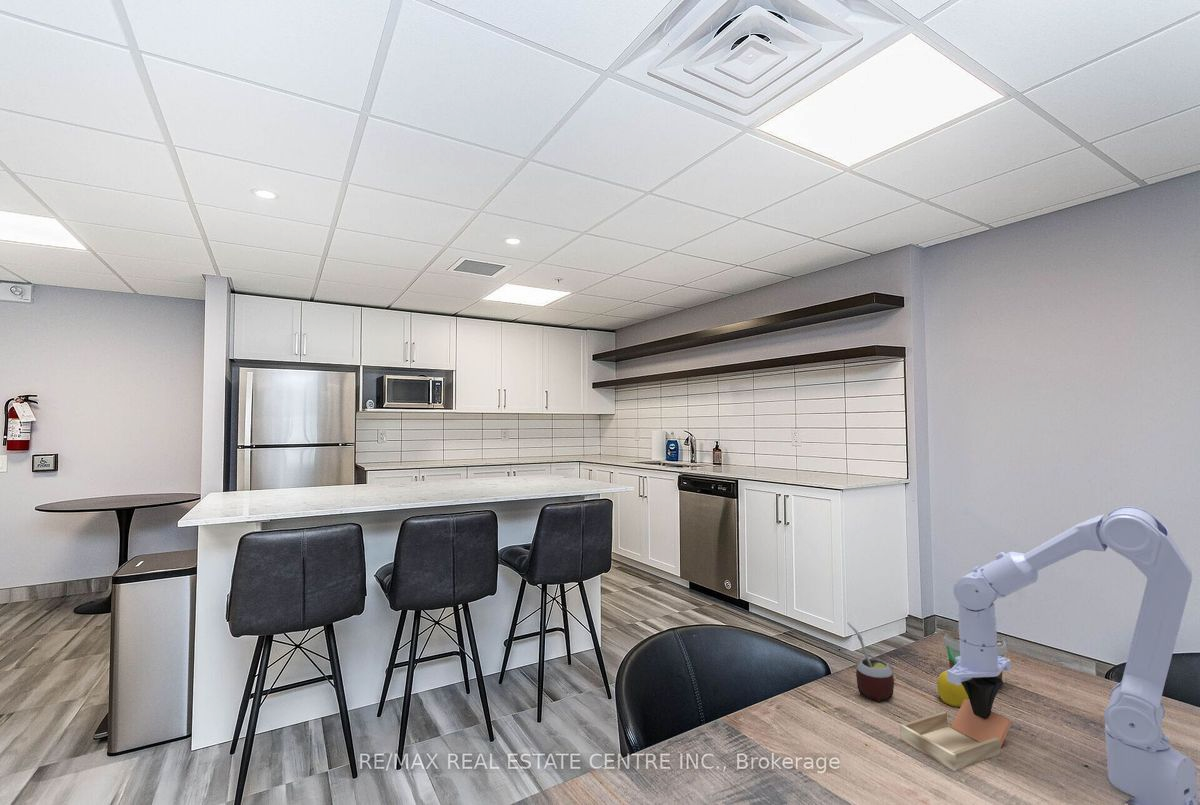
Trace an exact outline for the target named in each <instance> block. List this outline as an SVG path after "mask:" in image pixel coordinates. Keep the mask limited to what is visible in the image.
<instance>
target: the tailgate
mask: <svg viewBox="0 0 1200 805" xmlns="http://www.w3.org/2000/svg"><path fill="white" fill-rule="evenodd" d="M1012 724H1013V721H1012V720H1011V719H1009V718H1007V717H1004V716H1003V715H1000V714H998V713H996V712H994V711H992V710H991V713H990V716H989V717H988V718H987V719H982V718H980V717H978V716H976V715H974V713H973V710H972V706H971V703H970V700H969V701H968V700H966V699H964V701H963V703H962V705H961V707H959V710H958V711H957V713H956V715H955V718H954V719H953V721H952V723H951V725H950V728H952V729H954V730H955V731H957V732H959V733H961V734H963V735H965V736H967V737H969V738H971V739H973V740H975V741H977V742H978V743H980V742H983V741H986V740H989V739H991V738H994V737H996V738H998V739H999V745H1000V749H1001V748H1002V746H1003V744H1004V741H1005V739H1006V737H1007V735H1008V733H1009V731H1010V728H1011V726H1012Z"/></svg>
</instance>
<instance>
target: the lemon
mask: <svg viewBox="0 0 1200 805" xmlns="http://www.w3.org/2000/svg"><path fill="white" fill-rule="evenodd" d="M947 670H948V669H947ZM947 670H944V671H942V672H941V673H940V674H939V676H938V679H937V687H936V688H937V692H938V695H939V697H940V699H941V701H943V703H945V704H947V705H948V706H951V707H955V708H960V707H961V705H962V703H963V701H964V699H966V700H968V701H970V700H969V697H968V695H967V693H966V691H965V689H964V687H963V685H962V683H961V685H958V686H957V685H955V684H953V683H951V682H948V681H947Z"/></svg>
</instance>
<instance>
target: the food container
mask: <svg viewBox="0 0 1200 805" xmlns="http://www.w3.org/2000/svg"><path fill="white" fill-rule="evenodd" d="M942 643H943V645H945V646H946V651H947V657H948V663H949V669H951V668H953V667H954V666H955V665H956V664H957V663H958V662H956V661H955V658H956V657H958V656H960V638H958V637H957V638H955V637H951V636H949V635H948V634H947V633H944V635H943V638H942ZM997 651H998V656H1001V657H1004V655H1005V654H1007V653H1008V648H1007V644H1006V642H1005V639H1004V638H1003V637H1001V640H997ZM1003 671H1004V670H1002V672H1001V673H1000V674H999V675H998V676H995V677H998V678H1000V679H1001V680H1002V681H1003Z"/></svg>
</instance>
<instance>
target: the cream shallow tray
mask: <svg viewBox="0 0 1200 805" xmlns="http://www.w3.org/2000/svg"><path fill="white" fill-rule="evenodd" d="M899 735H900V736H899V737H900V741H902V742H904V743H906V744H907V745H909V746H911V747H913V748H914V749H916V750H918V751H919V752H921V753H923V754H924V755H926V756H927V757H929V758H931V759H932V760H934V761H935V762H938V763H940V765H943V766H945V767H946V768H947V769H949V770H951V771H953V772H956V771H959V770H961V769H964V768H967V767H969V766H973V765H975V764H978V763H980V762H983V761H985V760H988V759H991V758H993V757H996V756H998V755H1000V754H1001V751H1000V750H1001V748H1000V745H999V739H998V738H996V737H994V738H991V739H989V740H986V741H983V742H978V741H976V740H974V739H972V738H971V737H969V736H967V735H965V734H963V733H961V732H959V731H957V730H955V729H953V728H951V726H948V714H947V712H946V711H944V710H943V711H940V712H937V713H933V714H931V715H927V716H924V717H921V718H917V719H914V720H912V721H909V722H905V723H902V724H899Z"/></svg>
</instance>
